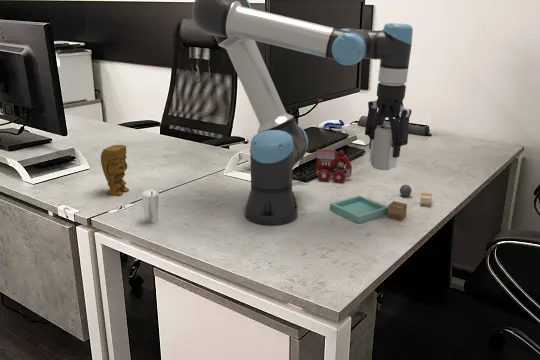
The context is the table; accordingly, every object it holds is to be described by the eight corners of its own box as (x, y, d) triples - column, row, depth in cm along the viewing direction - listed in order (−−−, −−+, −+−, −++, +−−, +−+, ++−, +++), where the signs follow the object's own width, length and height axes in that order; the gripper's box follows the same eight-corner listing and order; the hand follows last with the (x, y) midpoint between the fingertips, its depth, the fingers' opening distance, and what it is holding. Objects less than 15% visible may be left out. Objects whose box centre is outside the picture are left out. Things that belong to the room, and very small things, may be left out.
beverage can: (368, 163, 152) (373, 123, 148) (390, 164, 152) (396, 124, 148) (372, 170, 146) (377, 129, 142) (395, 171, 146) (401, 130, 142)
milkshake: (145, 226, 142) (143, 192, 139) (142, 219, 147) (139, 186, 143) (162, 224, 144) (160, 190, 140) (158, 216, 148) (155, 183, 145)
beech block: (430, 207, 155) (431, 198, 154) (420, 206, 156) (421, 197, 155) (430, 201, 160) (431, 192, 159) (420, 200, 161) (421, 191, 160)
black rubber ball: (405, 198, 162) (406, 187, 160) (396, 195, 164) (397, 184, 163) (413, 196, 164) (414, 185, 162) (404, 192, 166) (405, 182, 165)
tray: (358, 223, 144) (359, 217, 143) (329, 209, 153) (329, 203, 153) (388, 213, 150) (389, 207, 150) (359, 201, 160) (359, 195, 159)
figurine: (119, 197, 163) (115, 151, 158) (101, 195, 164) (96, 149, 159) (131, 189, 169) (127, 145, 164) (114, 187, 171) (109, 143, 166)
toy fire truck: (349, 184, 174) (351, 154, 171) (313, 181, 177) (314, 151, 174) (351, 177, 181) (353, 148, 177) (316, 174, 184) (317, 146, 180)
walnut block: (400, 221, 146) (402, 208, 144) (387, 218, 148) (388, 205, 146) (405, 216, 149) (407, 203, 147) (392, 213, 151) (393, 200, 150)
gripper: (430, 88, 136) (418, 171, 144) (375, 76, 150) (366, 153, 158) (411, 90, 132) (400, 176, 140) (356, 78, 146) (349, 157, 154)
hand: (382, 164), depth 149 cm, fingers closed on beverage can, 6 cm apart
